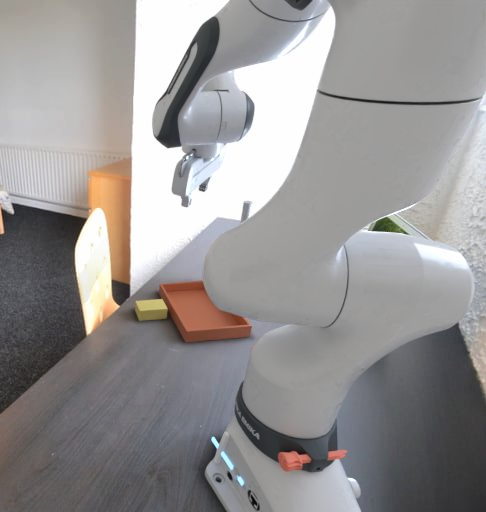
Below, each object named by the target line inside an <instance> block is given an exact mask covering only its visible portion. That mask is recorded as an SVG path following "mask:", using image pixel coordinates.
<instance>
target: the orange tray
mask: <svg viewBox="0 0 486 512" xmlns="http://www.w3.org/2000/svg"><path fill="white" fill-rule="evenodd" d="M158 295H159V297H160V299H163V301H164V303H165V305H166V307H167V309H168V310H167V312H168V313H169V315H170V317H171V318H172V320H173V322H174V325H175V326H176V328H177V329H178V331H179V334H180V335H181V337H182V339H183V340H184V342H185V343H194V342H195V343H196V342H205V341H216V340H218V341H219V340H227V339H228V340H229V339H240V338H250V337H251V333H252V329H253V325H252V324H251V322H250V321H249V320H248V318H245V317H241V316H238V315H235V314H231V313H228V312H225V311H221V310H219V309H218V308H217V307H216V306H215V305H214V304H213V302H212V301H211V299H210V298H209V296H208V294H207V292H206V290H205V287H204V284H203V280H193V281H179V282H178V281H177V282H165V283H159V287H158Z"/></svg>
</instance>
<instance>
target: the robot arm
mask: <svg viewBox="0 0 486 512" xmlns="http://www.w3.org/2000/svg"><path fill="white" fill-rule="evenodd" d="M330 8H331V9H332V11H333V15H334V20H335V21H334V30H333V35H332V39H331V43H330V46H329V50H328V52H327V54H326V58H325V62H324V64H323V67H322V71H321V74H320V78H319V81H318V84H317V89H316V92H315V95H314V98H313V104H312V106H311V110H310V113H309V117H308V120H307V123H306V125H305V126H306V127H305V130H304V133H303V137H302V139H301V141H300V144H299V148H298V150H297V154H296V155H295V159H294V161H293V164H292V166H291V168H290V171H289V173H288V174H287V175H286V177H285V179H284V180H283V182H282V183H281V185H280V187H279V188H278V189H277V191H276V192H275V193H274V194H273V195H272V196H271V198H270V199H268V200H267V202H266V203H264V205H262V206H261V208H259V209H258V210H257V211H256V212H254V213H253V214H252V215H250V217H249V218H248V219H247V220H245V221H244V222H242V223H240V222H239V223H238V224H237V225H235V226H233V227H231V228H229V229H227V230H224V231H223V232H221V233H220V234H219V235H218V236H217V237H216V238H214V240H213V241H212V243H210V245H209V246H208V249H207V250H206V252H205V255H204V258H203V261H202V266H201V267H202V268H201V278H202V281H203V284H204V287H205V290H206V292H207V294H208V296H209V298H210V299H211V301H212V302H213V304H214V305H215V306H216V307H217V308H218V309H219V310H221V311H225V312H228V313H231V314H235V315H238V316H241V317H245V318H246V319H250V320H253V321H256V322H262V323H272V324H282V325H281V326H278V327H276V328H272V329H271V330H268V331H267V332H265V333H264V334H262V335H261V336H260V337H258V339H257V340H256V341H255V343H254V344H253V345H252V347H251V349H250V351H249V355H248V361H247V364H246V365H247V366H246V369H245V374H244V378H243V380H242V381H241V383H240V385H239V387H238V390H237V391H236V395H235V401H234V414H233V416H232V417H231V420H230V421H229V423H228V425H227V427H226V428H225V430H224V432H223V433H222V437H221V439H220V441H219V442H218V441H217V439H216V437H215V436H212V437H211V443H212V444H213V445H214V446H215V448H216V450H215V454H214V457H213V458H212V460H210V461H209V463H208V464H207V466H206V468H205V470H204V477H205V479H206V480H207V482H208V485H209V486H210V487H211V489H212V490H213V492H214V493H215V496H216V498H218V500H219V502H220V504H221V505H222V506H223V508H224V510H225V511H226V512H362V509H361V507H360V505H359V502H358V500H357V499H359V498H360V497H361V495H362V492H361V491H362V490H361V487H360V484H359V483H358V481H357V480H356V479H355V478H353V477H348V476H347V473H346V471H345V468H344V466H343V464H342V462H341V459H344V458H346V454H347V453H348V450H347V449H339V450H338V448H339V447H338V445H339V444H338V424H337V423H338V420H337V417H338V413H339V412H340V410H341V407H342V405H343V403H344V401H345V399H346V397H347V395H348V393H349V391H350V389H351V387H352V386H353V385H354V383H355V382H356V380H358V379H359V378H360V376H361V375H363V373H365V372H366V371H367V370H369V368H370V367H372V366H373V365H374V364H375V363H377V362H378V361H380V360H381V359H382V358H384V357H386V356H387V355H389V354H390V353H392V352H393V351H395V350H397V349H398V348H401V347H402V346H404V345H406V344H408V343H410V342H413V341H415V340H416V339H420V338H423V337H425V336H428V335H432V334H436V333H439V332H442V331H446V330H448V329H450V328H453V326H455V325H457V324H458V323H459V322H460V321H462V319H463V318H465V315H466V314H467V313H468V311H469V309H470V308H471V306H472V304H473V301H474V298H475V292H476V291H475V290H476V286H475V285H476V284H475V277H474V273H473V270H472V268H471V266H470V264H469V263H468V261H467V259H466V258H465V257H464V256H463V254H462V253H461V252H460V251H459V250H458V249H457V248H455V247H454V246H452V245H450V244H447V243H445V242H440V241H436V240H432V239H428V238H424V237H419V236H415V235H410V234H405V233H400V232H391V231H390V232H389V231H388V232H387V231H368V230H363V229H364V228H366V227H368V225H371V224H373V223H375V222H376V221H379V220H381V219H384V218H387V217H389V216H391V215H394V214H397V213H399V212H402V211H404V210H405V211H406V210H408V209H410V208H411V207H414V206H416V205H418V204H419V203H421V202H423V200H425V199H426V198H428V197H429V196H430V195H431V194H432V193H433V192H434V191H435V190H436V189H437V188H438V186H439V185H440V184H441V182H442V180H443V178H444V176H445V174H446V173H447V170H448V168H449V166H450V164H451V162H452V160H453V158H454V156H455V154H456V152H457V151H458V148H459V146H460V144H461V142H462V140H463V138H464V136H465V135H466V132H467V130H468V128H469V127H470V124H471V122H472V120H473V118H474V116H475V114H476V113H477V110H478V108H479V106H480V104H481V102H482V100H483V98H484V96H485V94H486V0H228V2H227V3H226V4H224V6H223V7H222V8H221V9H220V10H219V11H217V13H215V14H214V15H213V16H211V17H209V18H208V19H207V20H205V21H204V22H203V23H202V24H201V25H200V26H199V28H198V29H197V31H196V33H195V34H194V36H193V38H192V39H191V41H190V43H189V45H188V47H187V49H186V51H185V52H184V55H183V57H182V58H181V60H180V63H179V64H178V66H177V68H176V71H175V72H174V75H173V76H172V79H171V80H170V82H169V84H168V86H167V88H166V90H165V92H163V94H162V95H161V96H160V97H159V98H158V100H157V102H156V103H155V106H154V109H153V113H152V117H151V129H152V134H153V135H152V136H153V137H154V138H155V140H156V141H157V142H158V143H159V144H161V145H162V146H163V147H165V149H174V148H181V151H182V153H184V155H183V156H182V157H181V159H180V160H179V161H178V162H177V163H176V165H175V167H174V171H173V177H172V181H171V182H172V183H171V192H172V193H171V194H173V195H174V196H178V197H180V199H181V203H180V205H181V207H184V208H189V207H190V206H191V204H192V198H191V195H192V193H193V192H194V191H195V190H196V189H197V188H198V191H199V192H202V193H205V192H207V190H208V189H209V185H210V182H211V179H212V177H213V174H215V173H216V172H217V171H218V170H219V169H220V168H221V166H222V164H223V161H224V158H225V153H226V150H227V145H228V144H232V143H236V142H237V143H238V142H240V141H241V140H242V139H243V138H244V137H245V136H246V135H247V134H248V132H249V131H250V130H251V128H252V126H253V122H254V117H255V108H256V107H255V102H254V101H253V99H252V98H251V96H250V95H248V94H247V93H246V92H245V91H244V90H241V89H240V88H239V86H238V84H237V83H236V82H237V81H236V80H235V78H236V77H235V74H236V73H235V71H236V70H238V69H242V68H247V67H250V66H254V65H258V64H264V63H267V62H271V61H274V60H277V59H280V58H282V57H284V56H286V55H288V54H289V53H292V52H293V51H294V50H296V49H297V48H299V46H301V44H302V43H304V42H305V41H306V40H307V38H309V37H310V36H311V34H313V32H314V31H315V30H316V28H317V27H318V26H319V25H320V23H321V22H322V20H323V19H324V18H325V16H326V15H327V12H328V11H329V10H330ZM283 324H284V325H283Z"/></svg>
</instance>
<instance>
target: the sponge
mask: <svg viewBox="0 0 486 512" xmlns="http://www.w3.org/2000/svg"><path fill="white" fill-rule="evenodd" d="M134 304H135V305H134V311H135V314H136V316H137V319H138V322H143V321H154V320H157V321H158V320H167V319H168V309H167V307H166V305H165V303H164V301H163V299H162V298H158V299H145V300H135V303H134Z"/></svg>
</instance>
